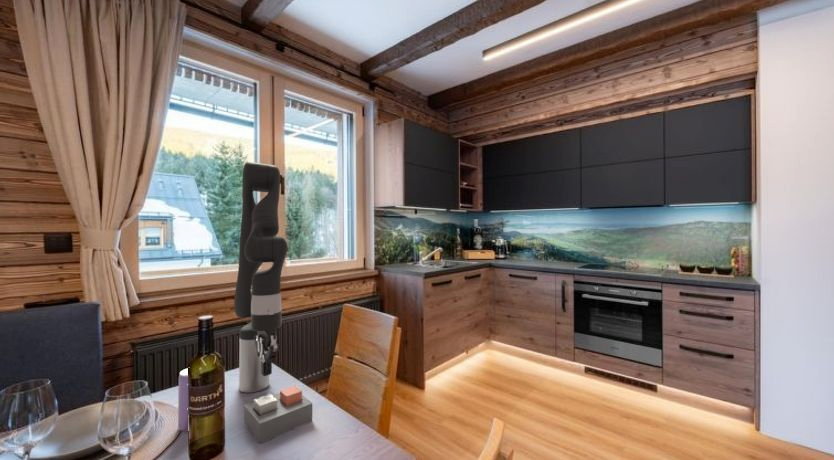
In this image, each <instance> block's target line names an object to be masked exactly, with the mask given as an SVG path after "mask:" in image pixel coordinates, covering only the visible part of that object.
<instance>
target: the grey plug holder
mask: <svg viewBox="0 0 834 460" xmlns="http://www.w3.org/2000/svg"><path fill="white" fill-rule="evenodd" d="M272 396H273V397H275V398H276V399H277V410H275V411H272V412H269V413H267V414H264V415H261V416H258V415H257V413H256V412H255V411H254V401H252V402H250V403H247V404H244V405H243V406H244V407H243V424H244V425H245V426H246V428H247V429H248V431H249V432H250V433H251V434H252V436H253V438H255V440H256V441H257V442H258V443H259V444H263V443H265V442H267V441H270V440H272V439H274V438H278V436H281V435H284V434H286V433H288V432H290V431H293V430H295V429H297V428H300V427H302V426H305V425H306V424H308V423H311V422H313V402H312V401H310V400H309V399H308V398H307V397H305V396H304V395H303V394H302V400H301V401H299V402H296V403H293V404H291V405H288V406H285V405H284V404H283V403H282V402H281V401H280V392H279V393H277V394H273V395H272Z"/></svg>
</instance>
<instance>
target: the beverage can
mask: <svg viewBox="0 0 834 460" xmlns="http://www.w3.org/2000/svg"><path fill="white" fill-rule="evenodd" d="M188 368H189V367H188ZM188 368H185V369H183V370H181V371H180V372H179V376H178V399H177V400H178V402H177V403H178V404H177V405H178V406H177V407H178V410H177V411H178V412H177V414H178V416H177V417H178V419H177V420H178V421H177V423H178V425H177V426H178V427H177V428H178V430H179V431H180V430H181V432H185V433H186V432H189V431H188V410H187V408H188V386H187V383H188Z"/></svg>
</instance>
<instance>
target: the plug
mask: <svg viewBox="0 0 834 460" xmlns="http://www.w3.org/2000/svg"><path fill="white" fill-rule="evenodd" d="M253 402H254V411H255V412H256V413H257V415H258V416H261V415H264V414H267V413H269V412H272V411H275V410H277V399H276V398H275V397H273V395H272V394H271V393H270V394H266V395H263V396H261V397H258V398H255V399H253Z"/></svg>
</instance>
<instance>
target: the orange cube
mask: <svg viewBox="0 0 834 460" xmlns="http://www.w3.org/2000/svg"><path fill="white" fill-rule="evenodd" d="M279 393H280V401H281V402H282V403H283V404H284V405H285V406H288V405H291V404H293V403H296V402H299V401H301V400H302V395H303V391H302V390H301V389H300V387H298V386H297V385H293V386H290V387H288V388H284V389H282V390H279Z"/></svg>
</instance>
